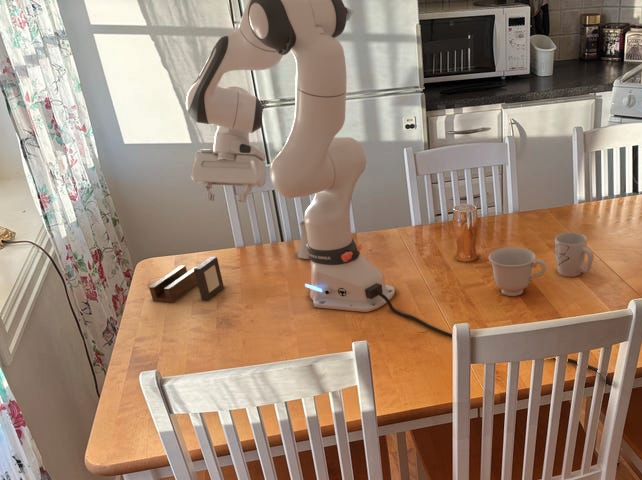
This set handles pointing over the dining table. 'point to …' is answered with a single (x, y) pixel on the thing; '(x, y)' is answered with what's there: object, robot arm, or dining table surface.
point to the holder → (173, 285)
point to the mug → (572, 254)
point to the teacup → (514, 269)
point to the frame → (209, 278)
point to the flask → (303, 242)
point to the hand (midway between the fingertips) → (225, 201)
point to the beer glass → (465, 231)
